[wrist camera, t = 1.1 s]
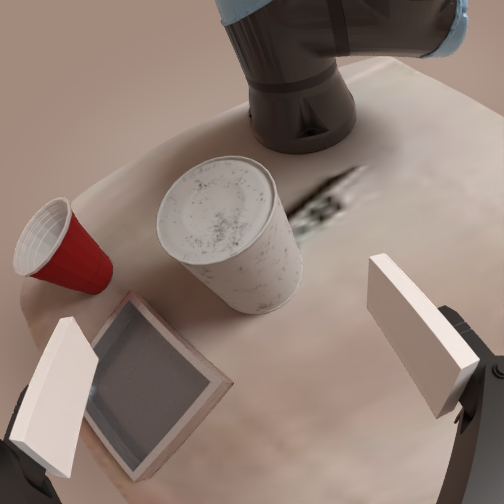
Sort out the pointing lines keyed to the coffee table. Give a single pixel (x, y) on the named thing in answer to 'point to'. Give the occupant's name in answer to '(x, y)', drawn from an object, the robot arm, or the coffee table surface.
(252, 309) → the speckled white cylinder
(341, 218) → the coffee table surface
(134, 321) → the grey square tray
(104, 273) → the plastic cup
